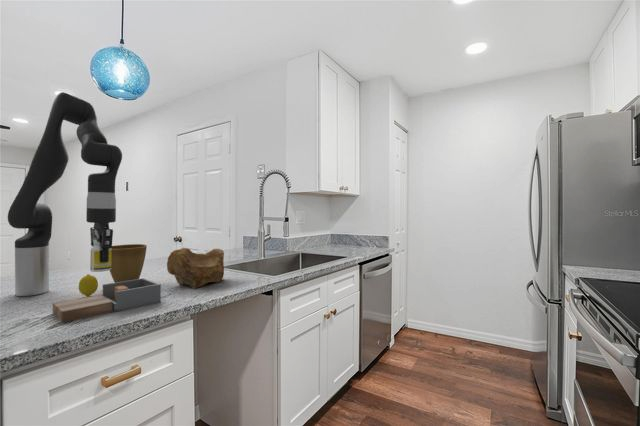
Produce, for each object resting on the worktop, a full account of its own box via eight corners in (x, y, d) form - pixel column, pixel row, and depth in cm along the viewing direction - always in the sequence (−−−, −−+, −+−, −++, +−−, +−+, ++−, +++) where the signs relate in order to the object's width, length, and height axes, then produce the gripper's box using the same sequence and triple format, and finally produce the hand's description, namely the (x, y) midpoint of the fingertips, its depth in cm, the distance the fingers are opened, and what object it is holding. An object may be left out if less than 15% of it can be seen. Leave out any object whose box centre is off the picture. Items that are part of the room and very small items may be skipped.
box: (99, 303, 103) (99, 285, 103) (143, 294, 114) (143, 278, 114) (114, 312, 94) (114, 292, 94) (160, 301, 105) (160, 284, 105)
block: (114, 286, 102) (123, 285, 104) (114, 302, 102) (123, 300, 104) (120, 289, 99) (128, 287, 101) (120, 305, 99) (128, 303, 101)
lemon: (87, 299, 107) (87, 276, 107) (74, 298, 109) (74, 275, 108) (101, 295, 113) (101, 273, 113) (89, 294, 114) (89, 272, 114)
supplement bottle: (115, 269, 99) (115, 239, 99) (98, 272, 94) (98, 240, 94) (103, 268, 101) (103, 238, 101) (86, 271, 96) (86, 239, 96)
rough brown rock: (172, 295, 116) (174, 255, 115) (164, 282, 129) (166, 247, 128) (232, 288, 130) (235, 253, 129) (220, 277, 143) (222, 245, 142)
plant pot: (118, 280, 135) (118, 244, 135) (153, 280, 136) (153, 244, 136) (95, 289, 120) (95, 248, 120) (135, 289, 121) (135, 248, 121)
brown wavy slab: (52, 313, 93) (52, 303, 93) (100, 303, 102) (100, 294, 102) (62, 322, 86) (62, 311, 85) (112, 311, 95) (112, 301, 95)
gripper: (123, 207, 96) (122, 262, 96) (108, 207, 105) (107, 257, 105) (94, 207, 90) (93, 265, 90) (80, 206, 99) (80, 259, 99)
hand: (100, 260), depth 97 cm, fingers closed on supplement bottle, 5 cm apart
